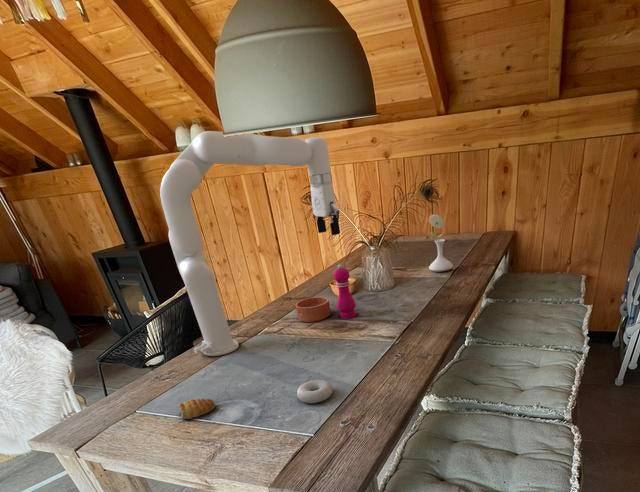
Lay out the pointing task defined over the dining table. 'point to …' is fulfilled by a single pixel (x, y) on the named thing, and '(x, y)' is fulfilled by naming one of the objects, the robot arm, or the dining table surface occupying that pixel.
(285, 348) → the dining table surface
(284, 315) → the dining table surface
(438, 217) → the flower in vase
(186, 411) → the pastry
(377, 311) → the dining table surface
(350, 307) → the pepper mill
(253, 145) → the robot arm
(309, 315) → the bowl
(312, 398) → the donut
